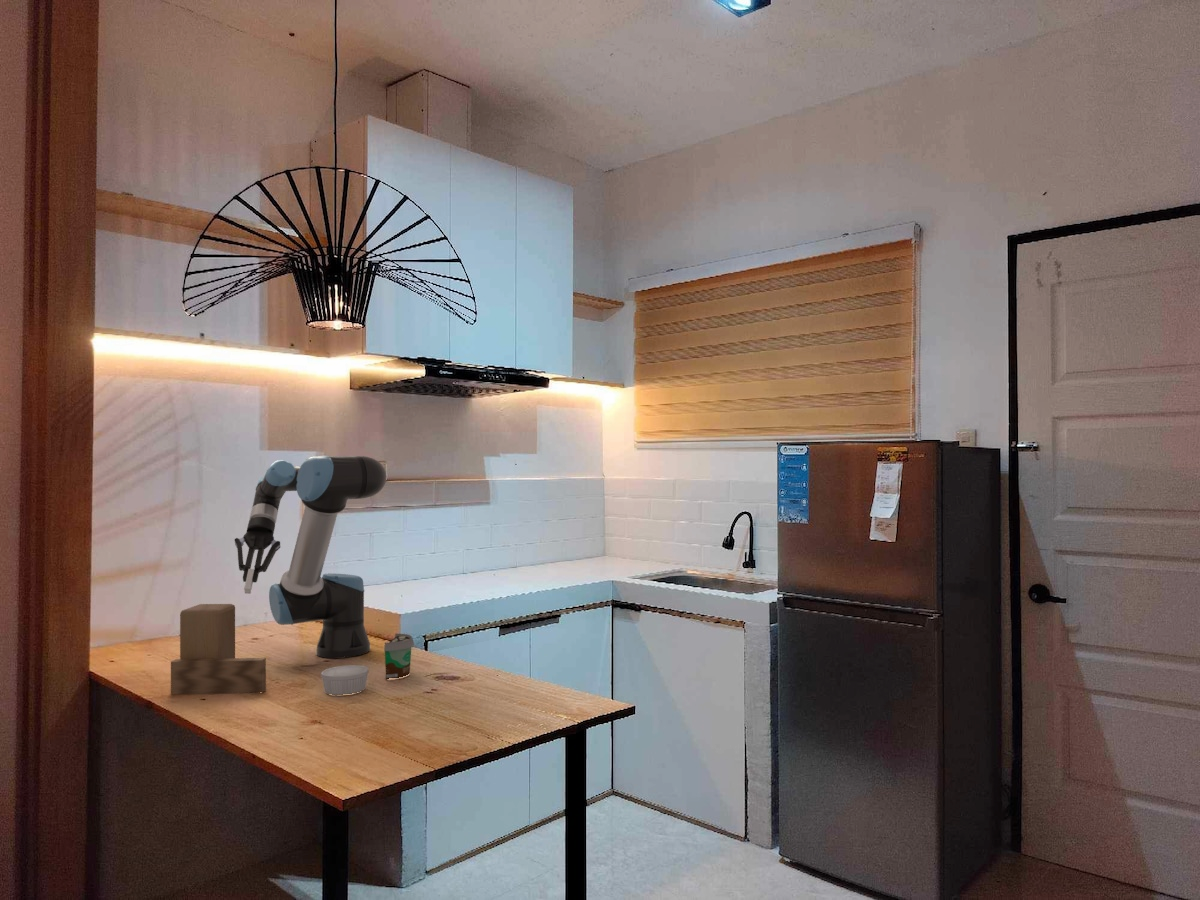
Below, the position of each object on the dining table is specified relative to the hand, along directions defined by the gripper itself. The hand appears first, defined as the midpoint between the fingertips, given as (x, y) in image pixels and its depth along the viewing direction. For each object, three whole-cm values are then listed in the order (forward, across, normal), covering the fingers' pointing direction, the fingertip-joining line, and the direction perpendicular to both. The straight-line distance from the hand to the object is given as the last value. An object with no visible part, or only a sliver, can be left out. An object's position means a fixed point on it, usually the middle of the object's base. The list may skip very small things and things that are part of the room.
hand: (247, 591), depth 234 cm
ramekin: (+38, -30, +20) cm, 52 cm away
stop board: (+35, 0, +12) cm, 37 cm away
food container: (+30, -44, +12) cm, 54 cm away
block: (+31, +3, +6) cm, 32 cm away
